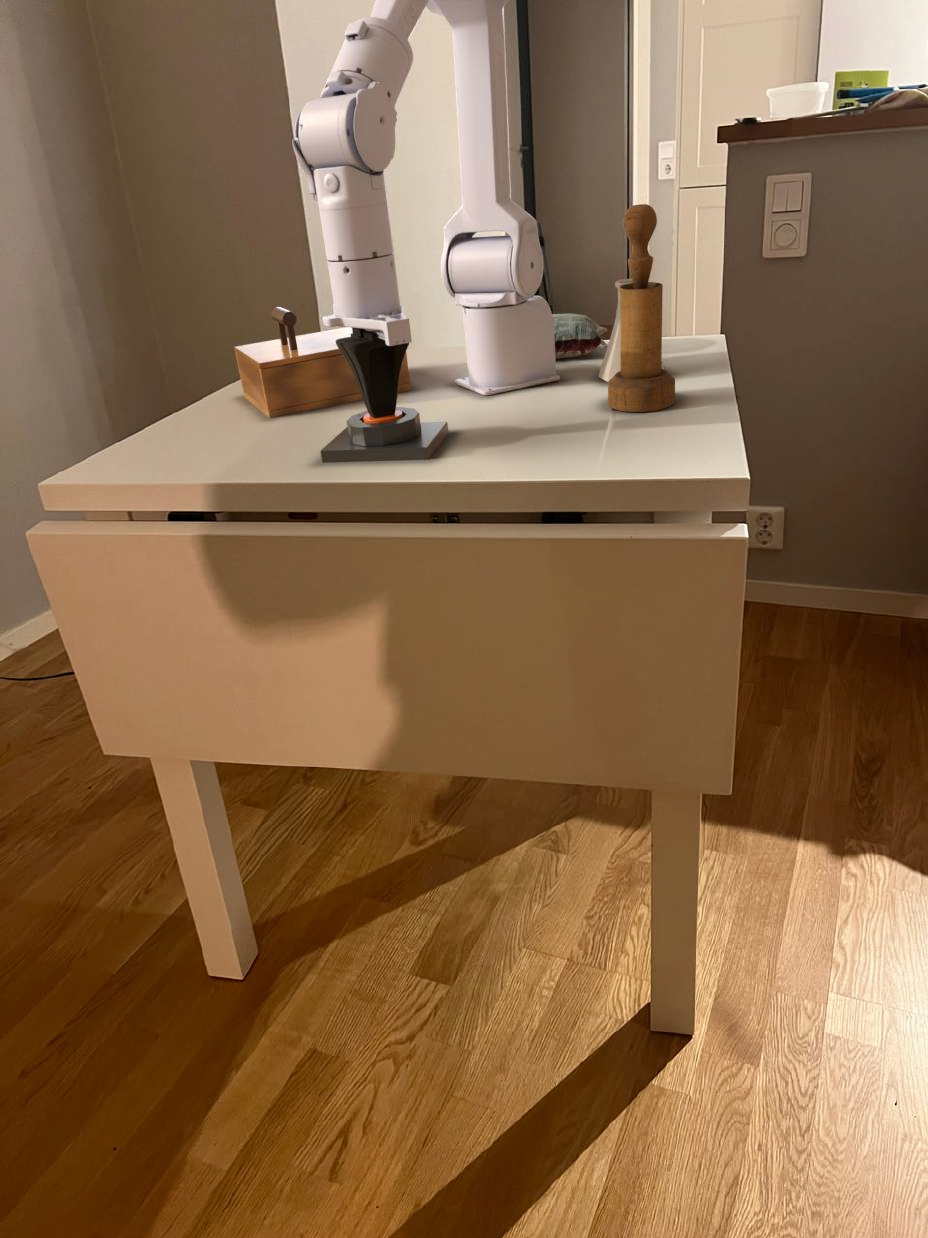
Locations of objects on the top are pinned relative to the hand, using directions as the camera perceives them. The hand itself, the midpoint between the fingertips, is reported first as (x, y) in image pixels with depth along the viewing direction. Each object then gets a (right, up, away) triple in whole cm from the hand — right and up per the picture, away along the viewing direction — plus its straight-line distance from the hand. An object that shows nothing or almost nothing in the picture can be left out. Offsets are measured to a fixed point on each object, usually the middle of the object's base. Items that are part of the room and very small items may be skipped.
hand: (382, 415), depth 84 cm
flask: (+26, +8, +17) cm, 32 cm away
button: (0, -1, +1) cm, 2 cm away
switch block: (0, -3, +1) cm, 3 cm away
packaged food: (+19, +14, +30) cm, 38 cm away
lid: (-9, +13, +21) cm, 26 cm away
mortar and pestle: (+25, +2, +7) cm, 26 cm away
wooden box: (-9, +8, +24) cm, 26 cm away
